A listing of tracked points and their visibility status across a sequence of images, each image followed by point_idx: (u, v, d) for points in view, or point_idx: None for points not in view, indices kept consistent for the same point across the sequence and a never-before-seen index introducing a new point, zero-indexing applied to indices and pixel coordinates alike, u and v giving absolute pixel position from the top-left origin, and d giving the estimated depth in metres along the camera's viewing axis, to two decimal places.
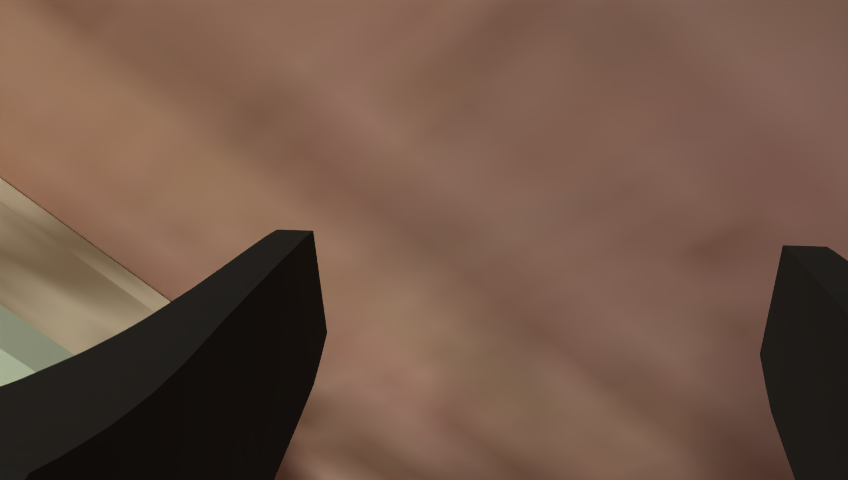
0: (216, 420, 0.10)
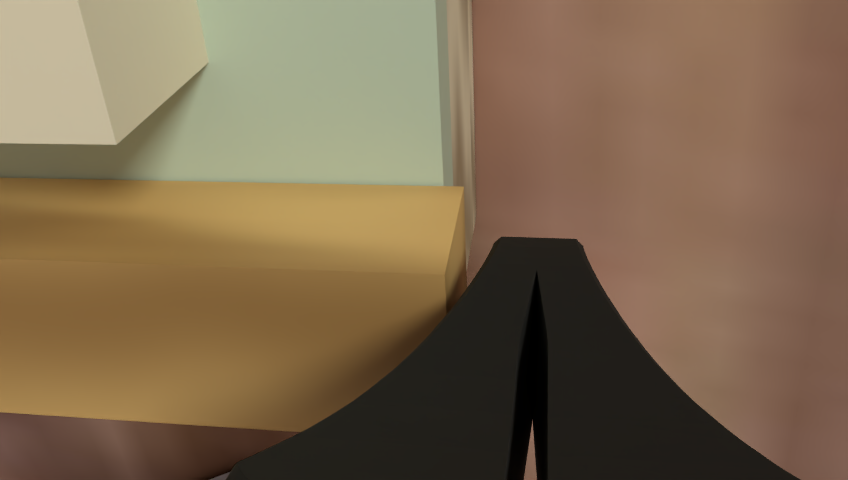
0: (515, 440, 0.09)
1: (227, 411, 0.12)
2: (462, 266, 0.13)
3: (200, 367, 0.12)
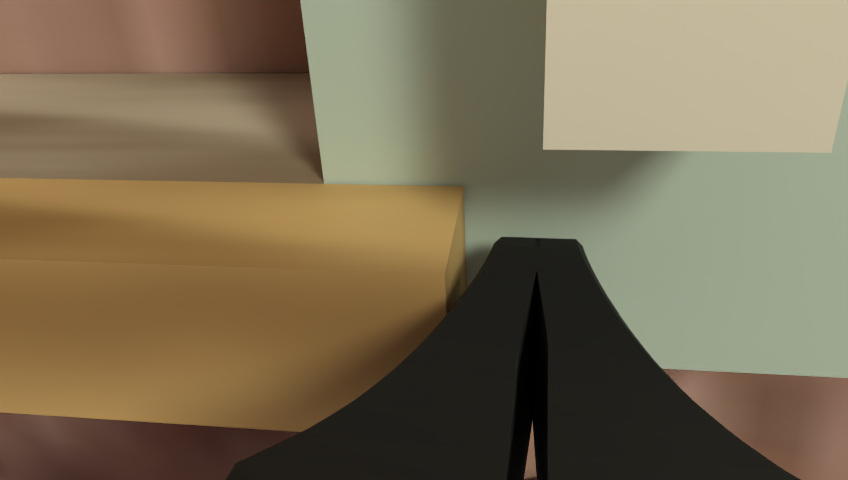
0: (515, 440, 0.09)
1: (228, 411, 0.12)
2: (462, 266, 0.13)
3: (200, 367, 0.12)
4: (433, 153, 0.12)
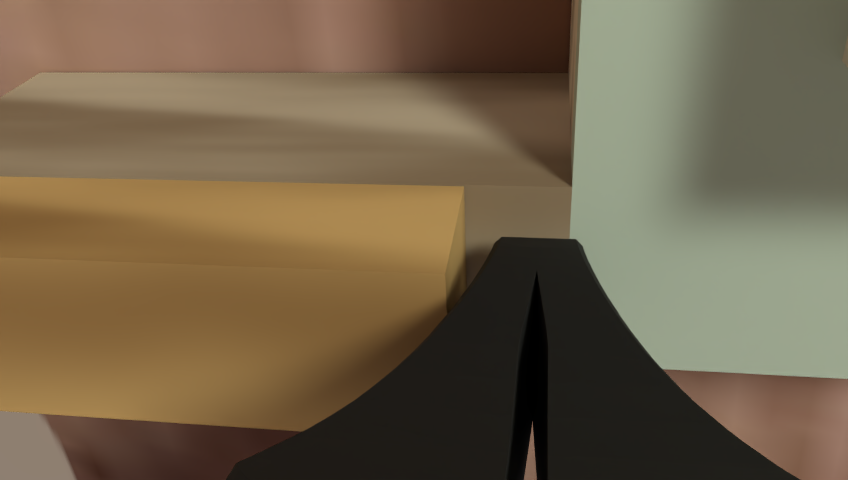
0: (516, 440, 0.09)
1: (227, 410, 0.12)
2: (462, 265, 0.13)
3: (200, 366, 0.12)
4: (698, 157, 0.12)
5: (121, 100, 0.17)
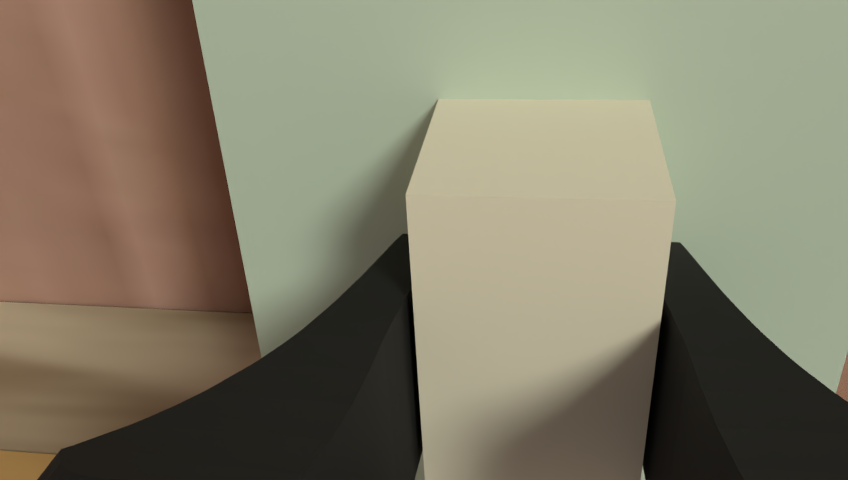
0: (383, 431, 0.09)
1: None
2: None
3: None
4: None
5: None
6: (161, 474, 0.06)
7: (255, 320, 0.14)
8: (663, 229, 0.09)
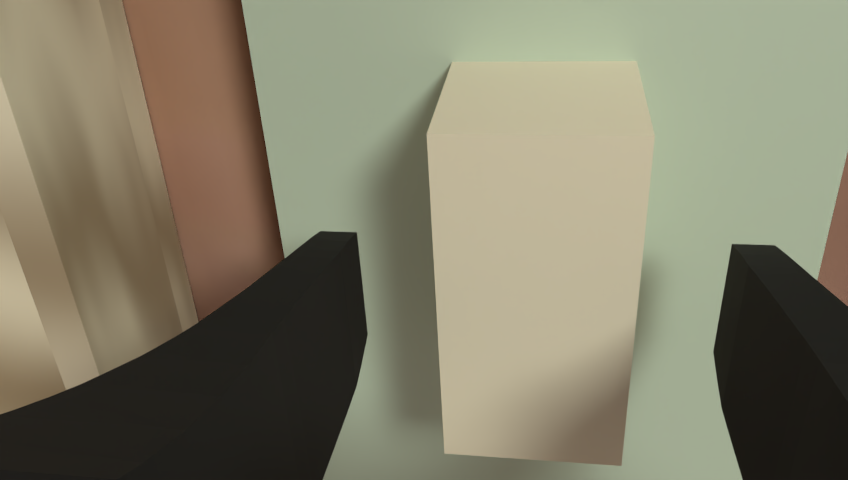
0: (273, 424, 0.09)
1: None
2: None
3: None
4: (387, 394, 0.18)
5: None
6: (3, 461, 0.06)
7: None
8: (644, 161, 0.11)
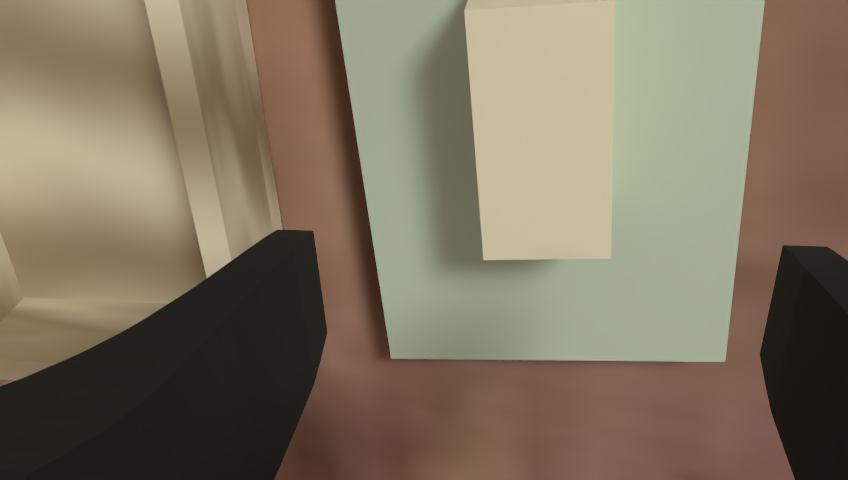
0: (216, 420, 0.10)
1: None
2: None
3: None
4: (435, 248, 0.23)
5: None
6: None
7: (358, 146, 0.22)
8: (610, 18, 0.16)
